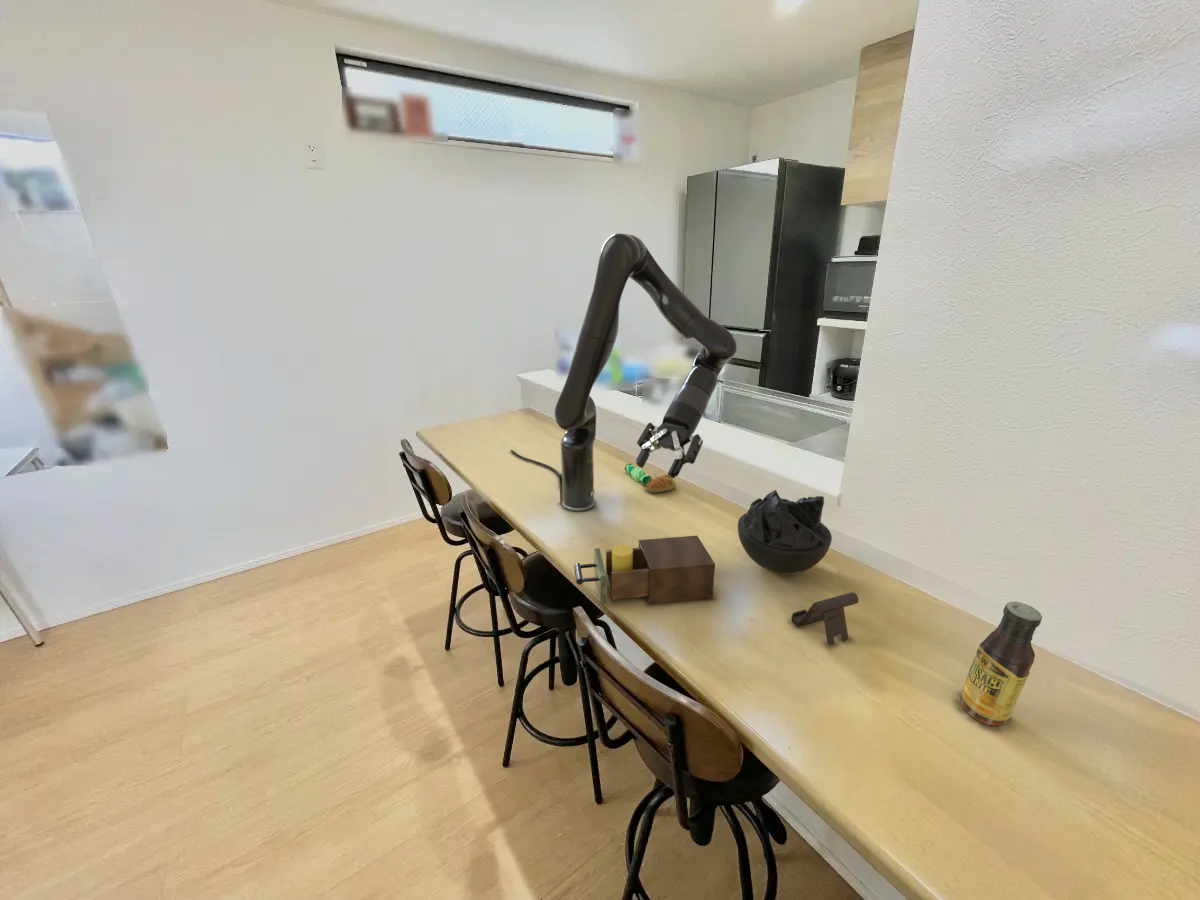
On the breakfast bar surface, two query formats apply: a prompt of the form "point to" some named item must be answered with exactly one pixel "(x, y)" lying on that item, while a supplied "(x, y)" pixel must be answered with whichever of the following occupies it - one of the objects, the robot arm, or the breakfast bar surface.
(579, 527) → the breakfast bar surface
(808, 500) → the coal bowl
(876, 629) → the breakfast bar surface
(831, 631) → the tablet stand
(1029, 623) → the sauce bottle
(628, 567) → the canister
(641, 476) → the candy
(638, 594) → the drawer
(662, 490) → the pastry
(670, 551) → the cabinet
